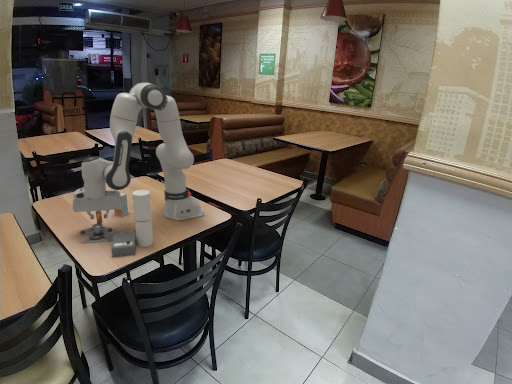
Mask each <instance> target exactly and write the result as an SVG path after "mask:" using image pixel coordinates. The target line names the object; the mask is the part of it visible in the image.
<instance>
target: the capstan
mask: <svg viewBox="0 0 512 384" xmlns="http://www.w3.org/2000/svg"><path fill="white" fill-rule="evenodd" d="M95 219H96V223H94V224H92V226H91V227H88V228H85V229H81V230H80V231H79V233H80V234H81V235H82V236H83V235H86V234H88V233H89V232H92V233H90V234H89V238H90V239H93V240H95V239H100V238H102V237H104V235H105V234H104V231H107V232H111V233H112V232H113V228H112V227H108V226H104V224H103V217H102V210H100V211H95Z"/></svg>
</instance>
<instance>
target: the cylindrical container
mask: <svg viewBox="0 0 512 384" xmlns="http://www.w3.org/2000/svg"><path fill="white" fill-rule="evenodd" d="M132 205H133V217H134V225H135V231H136V246H138V247H141V248H145V247H149V246H152V245H153V243H154V235H153V233H154V231H153V219H152V217H153V216H152V206H151V205H152V204H151V191H150V190H147V189H136V190H133V192H132Z"/></svg>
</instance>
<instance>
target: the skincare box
mask: <svg viewBox="0 0 512 384" xmlns="http://www.w3.org/2000/svg"><path fill="white" fill-rule="evenodd" d="M127 195H128V194H127V193H123V192H120V196H121V197H120V202H121V207H120V209H114V210H113V213H114V215H115V216H121V217H125V216H127V215H128V214H129V210H128V209H129V208H128V207H129V206H128V197H127Z"/></svg>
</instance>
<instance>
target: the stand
mask: <svg viewBox="0 0 512 384" xmlns="http://www.w3.org/2000/svg"><path fill="white" fill-rule="evenodd" d="M90 233H92V232H89V233H87V236H86V239H85V241H84V244H93V243H105V242H110V241H111V242H112V245H111V249H110V251H111V255H112V258H114V257H116V258H117V257H122V256H132V255H136V247H137V240H136V230H132V231H131V230H129V231H120V232H114V234H113V235H112V232H107V231H104V234H105V235H104V237H102V238H100V239H95V240H93V239H90V238H89V234H90Z"/></svg>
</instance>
